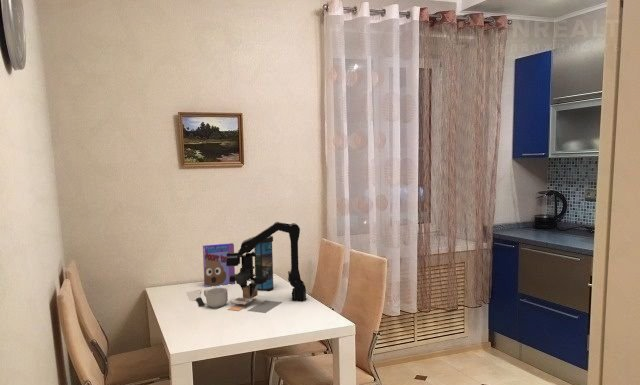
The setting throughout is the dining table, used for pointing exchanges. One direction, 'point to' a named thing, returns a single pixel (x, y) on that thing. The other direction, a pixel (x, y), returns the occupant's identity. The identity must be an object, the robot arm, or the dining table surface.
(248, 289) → the turner
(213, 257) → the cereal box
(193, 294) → the kitchen cleaver
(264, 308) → the mat
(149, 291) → the dining table surface
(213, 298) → the teacup
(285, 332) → the dining table surface
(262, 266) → the advertising column
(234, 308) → the tile
